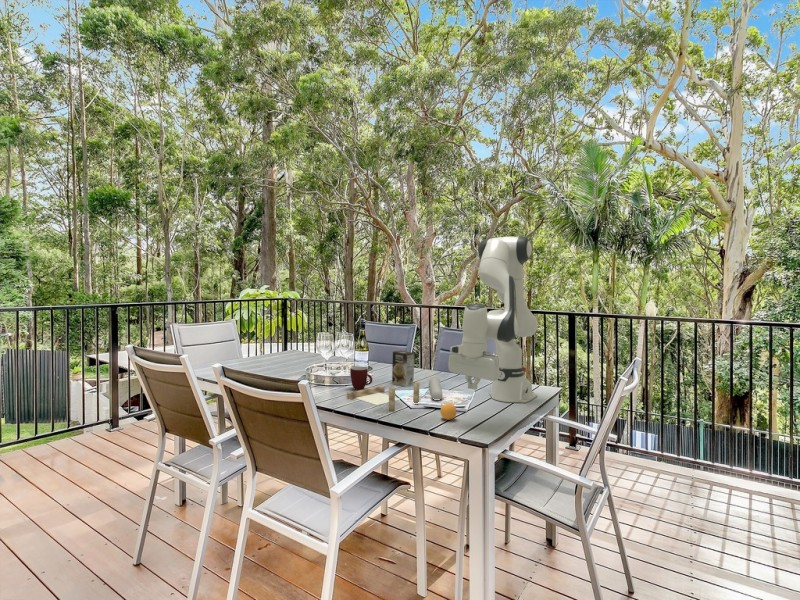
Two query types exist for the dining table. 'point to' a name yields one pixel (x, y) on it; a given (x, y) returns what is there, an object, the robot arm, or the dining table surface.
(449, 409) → the ball
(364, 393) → the stopper wall
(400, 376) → the coffee box
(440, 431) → the dining table surface
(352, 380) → the mug
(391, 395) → the post
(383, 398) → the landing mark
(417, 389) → the post
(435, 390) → the tube
